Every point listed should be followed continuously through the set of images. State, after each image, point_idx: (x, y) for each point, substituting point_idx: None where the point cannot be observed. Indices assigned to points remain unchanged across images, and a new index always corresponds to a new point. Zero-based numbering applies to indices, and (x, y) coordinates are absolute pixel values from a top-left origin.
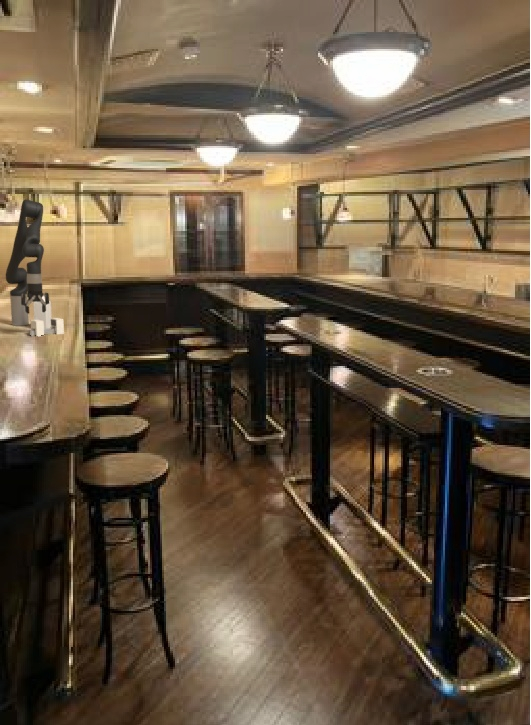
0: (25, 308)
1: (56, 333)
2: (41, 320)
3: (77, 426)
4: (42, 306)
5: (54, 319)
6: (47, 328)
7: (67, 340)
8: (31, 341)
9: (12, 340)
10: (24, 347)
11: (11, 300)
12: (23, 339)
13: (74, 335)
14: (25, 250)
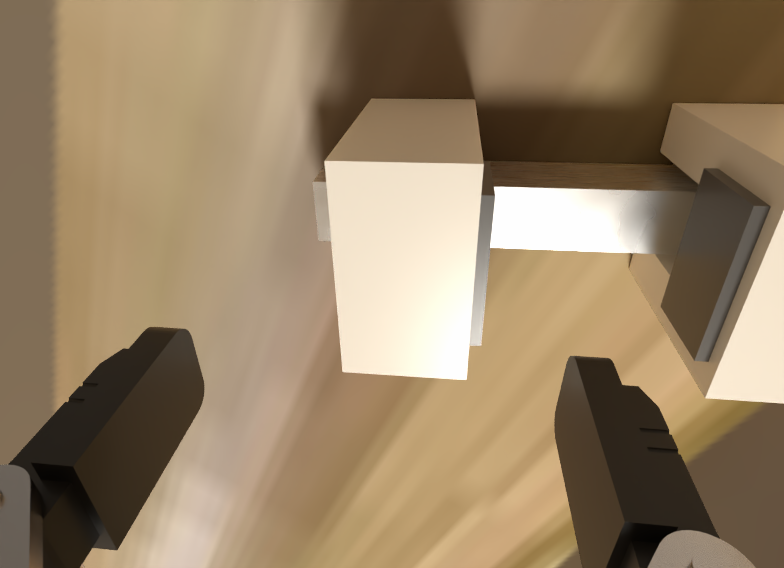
0: (52, 433)
1: (636, 258)
2: (468, 321)
3: None
4: (601, 507)
5: (729, 335)
6: (587, 195)
7: (499, 529)
8: (249, 423)
9: (109, 303)
10: (160, 539)
11: None
12: (210, 316)
13: (715, 410)
14: None
